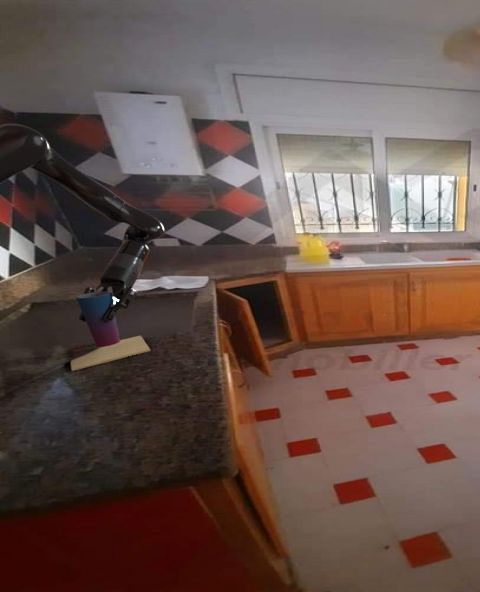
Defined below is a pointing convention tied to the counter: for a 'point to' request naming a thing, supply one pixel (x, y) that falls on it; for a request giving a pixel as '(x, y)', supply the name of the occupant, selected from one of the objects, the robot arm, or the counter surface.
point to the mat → (111, 353)
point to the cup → (99, 318)
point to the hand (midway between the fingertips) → (94, 320)
